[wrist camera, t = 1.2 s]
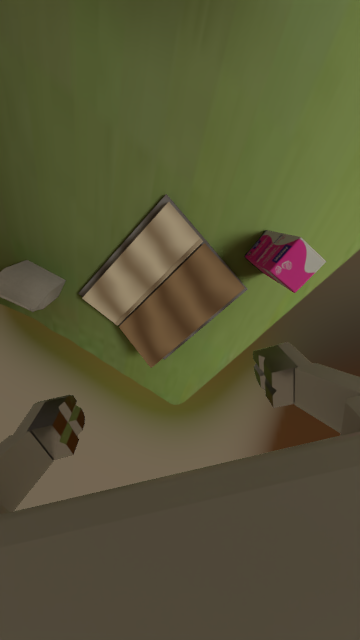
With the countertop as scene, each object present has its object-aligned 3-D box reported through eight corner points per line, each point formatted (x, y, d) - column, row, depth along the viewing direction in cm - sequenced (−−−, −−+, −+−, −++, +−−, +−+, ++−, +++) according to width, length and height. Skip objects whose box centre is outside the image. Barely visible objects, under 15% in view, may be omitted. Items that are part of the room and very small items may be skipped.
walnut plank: (206, 245, 37) (204, 242, 36) (244, 288, 36) (245, 287, 35) (122, 326, 43) (118, 326, 42) (154, 365, 42) (150, 367, 41)
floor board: (166, 194, 35) (166, 193, 32) (245, 287, 43) (250, 292, 40) (80, 291, 41) (75, 296, 38) (164, 356, 49) (164, 364, 47)
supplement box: (265, 228, 38) (302, 235, 28) (286, 249, 40) (329, 262, 30) (242, 256, 40) (269, 271, 30) (264, 274, 42) (296, 295, 32)
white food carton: (27, 259, 38) (-15, 275, 29) (65, 280, 40) (37, 300, 31) (20, 277, 39) (-22, 297, 30) (58, 296, 41) (29, 320, 32)
